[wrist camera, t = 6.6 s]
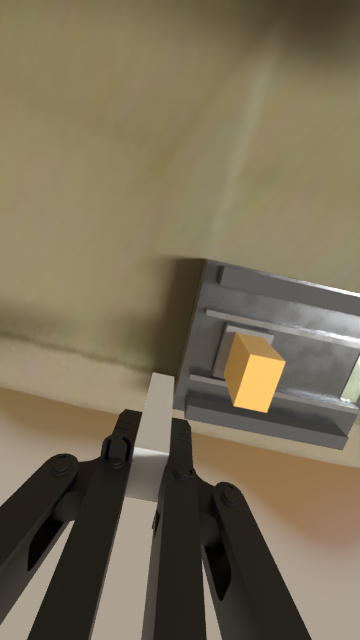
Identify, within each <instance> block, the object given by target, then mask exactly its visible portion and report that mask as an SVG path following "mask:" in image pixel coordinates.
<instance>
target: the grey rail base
mask: <svg viewBox="0 0 360 640" xmlns="http://www.w3.org/2000/svg"><path fill="white" fill-rule="evenodd" d="M222 266H226V267H231V268H235V269H239V270H244V271H248V272H253V273H257V274H261V275H266V276H270V277H274V278H279V279H283V280H288V281H292V282H296V283H301V284H305V285H309V286H314V287H318V288H323V289H327V290H331V291H336V292H340V293H344V294H349V295H353V296H358V297H360V294H358V293H354V292H349V291H345V290H341V289H336V288H332V287H328V286H323V285H319V284H314V283H310V282H306V281H301V280H297V279H293V278H288V277H284V276H280V275H275V274H271V273H266V272H262V271H258V270H253V269H249V268H245V267H240V266H236V265H232V264H227V263H223V262H218V261H214V260H210V259H205V262H204V266H203V270H202V274H201V278H200V282H199V287H198V291H197V295H196V299H195V303H194V307H193V311H192V315H191V320H190V324H189V328H188V332H187V336H186V340H185V344H184V349H183V353H182V357H181V361H180V365H179V369H178V373H177V378H176V382H175V386H174V390H173V405H172V409H177V410H182V411H185V405H186V401H187V398H188V396H190V397H195V398H199V399H204V400H209V401H214V402H219V403H224V404H229V405H233V403H232V400H231V396H230V393H229V390H228V387H227V384H226V381H225V379H224V378H219V377H215V376H213V373H212V371H213V368H214V364H215V361H216V357H217V354H218V350H219V347H220V343H221V340H222V336H223V333H224V329H225V326H226V323H230V324H234V325H239V326H244V327H248V328H253V329H257V330H262V331H266V332H271V333H272V334H273V335H274V338H273V341H272V344H271V346H272V347H273V348H274V350H275V351H276V352H277V353H278V354H279V355H280V356H281V357H282V358H283V359H284V360H285V361H286V363H285V365H284V368H283V371H282V373H281V376H280V379H279V381H278V384H277V387H276V389H275V392H274V395H273V397H272V400H271V403H270V406H269V408H268V411H267V412H268V413H273V414H278V415H283V416H287V417H292V418H297V419H302V420H307V421H312V422H317V423H322V424H327V425H331V426H336V427H339V428H340V429H341V430H342V431H343V432H344V433H345V435H346V436H347V435H348V433H349V431H350V429H351V427H352V425H353V423H354V421H355V419H356V417H357V415H358V413H359V411H360V316H355V315H351V314H346V313H342V312H338V311H333V310H329V309H324V308H320V307H315V306H311V305H306V304H302V303H298V302H293V301H289V300H284V299H280V298H275V297H271V296H266V295H262V294H258V293H253V292H249V291H244V290H240V289H235V288H231V287H226V286H222V285H219V284H218V279H219V276H220V272H221V268H222Z"/></svg>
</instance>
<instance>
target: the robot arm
mask: <svg viewBox="0 0 360 640" xmlns="http://www.w3.org/2000/svg"><path fill="white" fill-rule="evenodd" d="M173 390H174V377H173V376H168V375H163V374H159V373H154V372H153V374H152V378H151V382H150V386H149V390H148V394H147V398H146V402H145V405H144V409H143V412H138V411H133V410H128V409H125V410H124V411H123V412H122V413H121V414H120V415H119V418H118V420H117V423H116V425H115V428H114V431H113V433H112V435H110V436H108V437H107V438H106V439H105V440H104V441H103V444H102V450H101V456H100V457H98V458H96V459H94V460H91V461H84V462H78V460H77V458H76V457H75V456H73V455H71V454H66V453H65V454H58V455H55V456H53V457H51V458H50V459H48V460H47V461H46V462H45V463H44V464H43V465H42V466H41V467H40V468H39V469H38V470H37V471H36V472H35V473H34V474H33V475H32V476H31V477H30V478H29V479H28V480H27V481H26V482H25V483H24V484H23V485H22V486H21V487H20V488H19V489H18V490H17V491H16V492H15V493H14V494H13V495H12V496H11V497H10V498H9V499H8V500H7V501H6V502H5V503H4V504H3V505H2V506H1V507H0V625H1V623H2V622H3V620H4V619H5V617H6V616H7V614H8V613H9V611H10V610H11V608H12V607H13V605H14V604H15V602H16V601H17V599H18V598H19V596H20V595H21V594H22V592H23V590H24V589H25V587H26V586H27V585H28V583H29V582H30V580H31V579H32V577H33V576H34V574H35V573H36V571H37V570H38V568H39V567H40V565H41V564H42V562H43V561H44V559H45V558H46V556H47V555H48V553H49V552H50V551H51V549H52V548H53V546H54V545H55V543H56V542H57V540H58V539H59V537H60V536H61V534H62V533H63V531H64V530H65V528H66V527H67V525H68V524H69V522H70V521H73V520H75V522H74V524H73V527H72V529H71V532H70V534H69V537H68V539H67V542H66V544H65V547H64V549H63V552H62V554H61V557H60V559H59V562H58V564H57V566H56V569H55V571H54V574H53V576H52V579H51V581H50V584H49V586H48V589H47V591H46V594H45V596H44V599H43V601H42V604H41V606H40V609H39V611H38V614H37V616H36V619H35V621H34V624H33V626H32V629H31V631H30V633H29V636H28V639H27V640H91V636H92V632H93V628H94V623H95V620H96V615H97V611H98V607H99V602H100V598H101V594H102V590H103V586H104V581H105V577H106V573H107V569H108V565H109V561H110V556H111V552H112V548H113V543H114V539H115V535H116V531H117V527H118V523H119V518H120V514H121V509H122V505H123V500H124V496H126V497H131V498H136V499H142V500H147V501H153V502H157V500H158V504H157V509H156V513H155V517H154V521H153V525H152V529H153V537H152V546H151V556H150V565H149V574H148V583H147V592H146V602H145V611H144V620H143V629H142V638H141V640H207V639H206V622H205V605H204V589H203V574H202V573H203V572H202V560H203V564H204V568H205V572H206V576H207V580H208V584H209V588H210V592H211V596H212V600H213V604H214V608H215V612H216V616H217V620H218V624H219V629H220V632H221V637H222V640H312V639H311V637H310V635H309V633H308V631H307V629H306V627H305V624H304V622H303V620H302V618H301V616H300V614H299V612H298V610H297V608H296V605H295V603H294V601H293V599H292V597H291V595H290V593H289V591H288V589H287V586H286V585H285V582H284V580H283V578H282V576H281V574H280V572H279V570H278V568H277V565H276V563H275V561H274V559H273V557H272V555H271V553H270V551H269V548H268V546H267V544H266V542H265V540H264V538H263V536H262V534H261V532H260V530H259V528H258V525H257V523H256V521H255V519H254V517H253V515H252V513H251V511H250V508H249V506H248V504H247V502H246V500H245V498H244V496H243V494H242V493H241V491H240V490H239V489H238V488H237V487H236V486H234V485H233V484H230V483H228V482H220V483H218V484H217V485H216V486H215V487H214V486H212V485H210V484H208V483H207V482H205V481H203V480H202V479H201V478H200V477H199V476H198V475H197V474H196V472H195V469H194V468H193V460H192V442H191V441H192V440H191V427H190V425H189V423H188V421H187V420H183V419H177V418H172V405H173Z"/></svg>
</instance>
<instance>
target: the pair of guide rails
mask: <svg viewBox="0 0 360 640" xmlns="http://www.w3.org/2000/svg"><path fill="white" fill-rule="evenodd" d="M218 284H219V285H222V286H226V287H231V288H235V289H240V290H244V291H249V292H253V293H258V294H262V295H266V296H271V297H275V298H280V299H284V300H289V301H293V302H298V303H302V304H306V305H311V306H315V307H320V308H324V309H329V310H333V311H338V312H342V313H346V314H351V315H355V316H360V297H358V296H353V295H349V294H344V293H340V292H336V291H331V290H327V289H323V288H318V287H314V286H309V285H305V284H301V283H296V282H292V281H288V280H283V279H279V278H274V277H270V276H266V275H261V274H257V273H253V272H248V271H244V270H239V269H235V268H231V267H226V266H222V268H221V272H220V276H219V279H218ZM185 419H189V420H194V421H199V422H204V423H209V424H214V425H219V426H224V427H229V428H234V429H239V430H244V431H249V432H254V433H259V434H264V435H269V436H274V437H279V438H284V439H288V440H293V441H298V442H303V443H308V444H313V445H318V446H323V447H328V448H333V449H338V450H343V448H344V446H345V444H346V442H347V440H348V437H347V436H346V435H345V433H344V432H343V431H342V430H341V429H340V428H339V427H336V426H331V425H327V424H322V423H317V422H312V421H307V420H302V419H297V418H292V417H287V416H283V415H278V414H273V413H268V412H267V413H265V412H260V411H256V410H251V409H246V408H241V407H236V406H233V405H229V404H224V403H219V402H214V401H209V400H204V399H199V398H195V397H190V396H188V398H187V401H186V405H185Z"/></svg>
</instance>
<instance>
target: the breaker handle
mask: <svg viewBox="0 0 360 640" xmlns="http://www.w3.org/2000/svg"><path fill="white" fill-rule="evenodd" d="M273 338H274V335H273V334H272V333H271V332H266V331H262V330H257V329H253V328H248V327H244V326H239V325H234V324H230V323H226V326H225V329H224V333H223V336H222V340H221V343H220V347H219V350H218V354H217V357H216V361H215V364H214V368H213V371H212V373H213V376H215V377H219V378H224V379H225V381H226V384H227V387H228V390H229V393H230V396H231V400H232V403H233V406H236V407H241V408H246V409H251V410H256V411H260V412H265V413H267V411H268V408H269V406H270V403H271V400H272V397H273V395H274V392H275V389H276V387H277V384H278V381H279V379H280V376H281V373H282V371H283V368H284V365H285V363H286V361H285V360H284V359H283V358H282V357H281V356H280V355H279V354H278V353H277V352H276V351H275V350H274V348H273V347H272V346H271V344H272V341H273Z"/></svg>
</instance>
